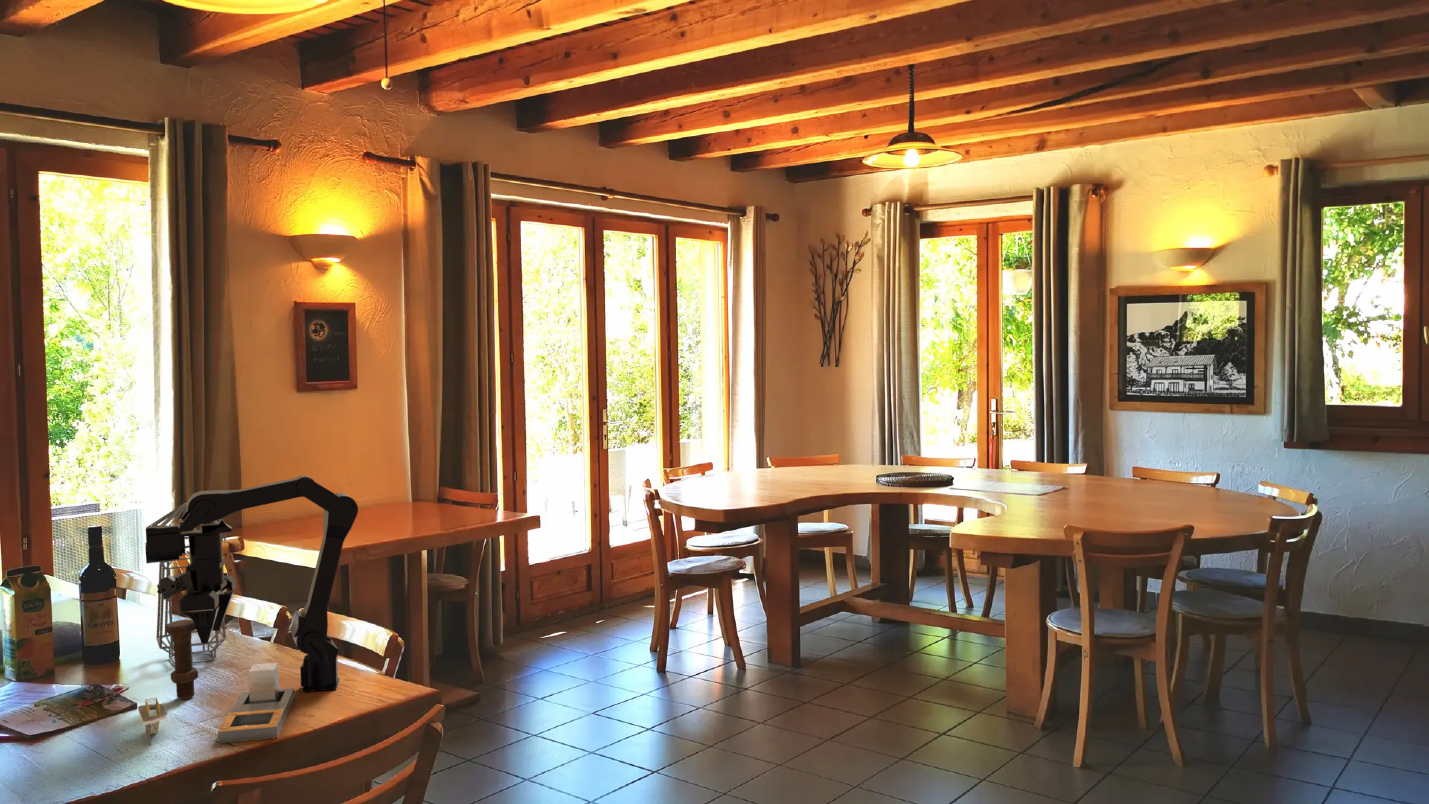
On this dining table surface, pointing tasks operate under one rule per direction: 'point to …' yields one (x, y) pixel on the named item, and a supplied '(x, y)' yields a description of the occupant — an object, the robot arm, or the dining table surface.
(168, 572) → the geometric lantern
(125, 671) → the dining table surface
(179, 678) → the bolt
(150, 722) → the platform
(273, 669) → the nut block
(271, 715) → the rail plate
